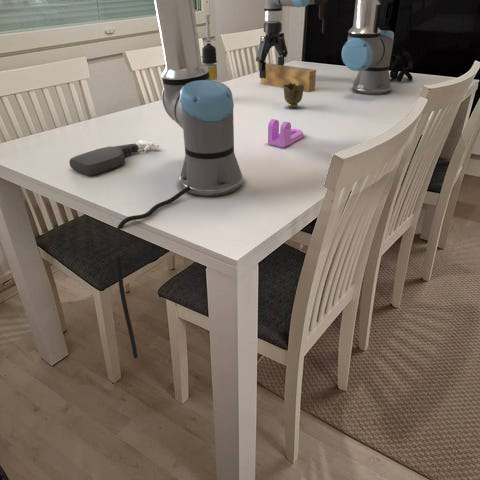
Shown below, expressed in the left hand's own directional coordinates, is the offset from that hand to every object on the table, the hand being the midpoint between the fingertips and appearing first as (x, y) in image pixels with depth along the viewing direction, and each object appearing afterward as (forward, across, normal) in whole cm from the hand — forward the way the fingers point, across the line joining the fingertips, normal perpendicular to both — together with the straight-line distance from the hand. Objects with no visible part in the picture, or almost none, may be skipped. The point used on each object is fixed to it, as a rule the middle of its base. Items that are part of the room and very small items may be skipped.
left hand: (349, 32), depth 120 cm
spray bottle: (+30, +63, +18) cm, 72 cm away
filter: (+30, +45, -47) cm, 72 cm away
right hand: (+26, +22, -73) cm, 81 cm away
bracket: (+30, +15, +1) cm, 34 cm away
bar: (+30, +15, -68) cm, 76 cm away
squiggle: (+30, -36, -80) cm, 93 cm away
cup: (+30, +13, -35) cm, 48 cm away
